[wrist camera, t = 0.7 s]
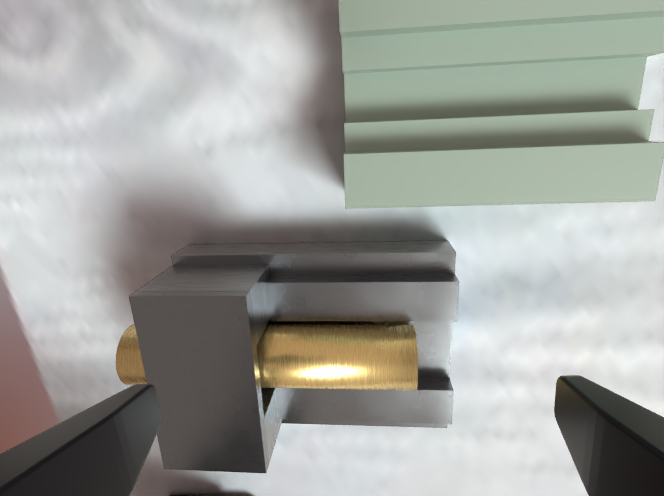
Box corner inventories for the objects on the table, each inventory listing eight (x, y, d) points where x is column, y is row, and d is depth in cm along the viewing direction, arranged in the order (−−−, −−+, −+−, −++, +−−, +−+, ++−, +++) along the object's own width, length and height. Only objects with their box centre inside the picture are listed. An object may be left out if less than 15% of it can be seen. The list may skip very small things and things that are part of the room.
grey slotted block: (440, 403, 24) (463, 490, 18) (211, 398, 25) (165, 477, 19) (447, 240, 21) (476, 283, 15) (188, 244, 22) (126, 285, 16)
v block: (598, 186, 19) (655, 201, 15) (349, 193, 20) (345, 208, 17) (630, -25, 17) (706, -69, 13) (344, -3, 18) (337, -38, 14)
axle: (411, 374, 21) (417, 402, 18) (152, 369, 22) (118, 395, 19) (410, 317, 20) (417, 336, 17) (148, 316, 22) (113, 334, 19)
